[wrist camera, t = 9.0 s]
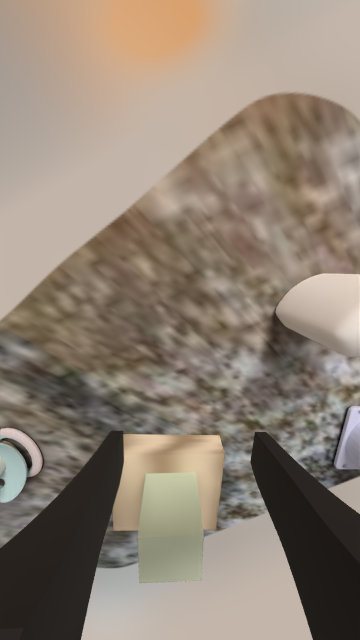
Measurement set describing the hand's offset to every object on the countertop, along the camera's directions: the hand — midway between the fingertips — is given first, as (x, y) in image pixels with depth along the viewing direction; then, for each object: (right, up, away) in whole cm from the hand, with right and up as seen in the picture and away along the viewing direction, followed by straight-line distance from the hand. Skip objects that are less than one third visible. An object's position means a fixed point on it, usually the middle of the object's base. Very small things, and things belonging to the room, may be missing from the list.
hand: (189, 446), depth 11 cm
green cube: (-1, -11, +10) cm, 15 cm away
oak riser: (-2, -10, +13) cm, 17 cm away
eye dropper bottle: (+11, +9, +8) cm, 16 cm away
